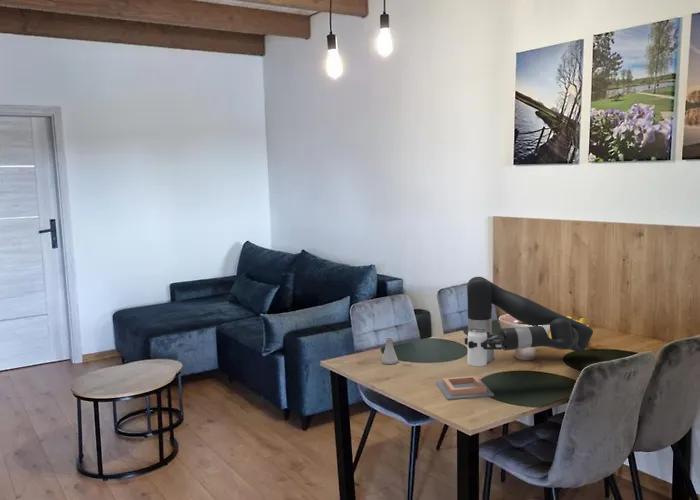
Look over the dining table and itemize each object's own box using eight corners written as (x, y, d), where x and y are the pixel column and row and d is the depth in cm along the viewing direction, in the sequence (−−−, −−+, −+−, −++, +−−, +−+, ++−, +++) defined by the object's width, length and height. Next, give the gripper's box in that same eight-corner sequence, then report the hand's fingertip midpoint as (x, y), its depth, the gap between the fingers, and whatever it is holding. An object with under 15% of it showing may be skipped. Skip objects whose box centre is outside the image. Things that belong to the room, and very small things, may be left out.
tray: (479, 380, 219) (479, 373, 219) (494, 396, 203) (493, 388, 203) (436, 383, 218) (435, 376, 217) (447, 400, 202) (447, 392, 202)
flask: (397, 365, 241) (396, 340, 240) (379, 364, 242) (378, 340, 241) (399, 359, 248) (399, 335, 247) (382, 359, 250) (381, 335, 248)
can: (465, 361, 211) (465, 327, 209) (483, 360, 211) (484, 327, 210) (470, 367, 204) (470, 332, 203) (489, 366, 205) (489, 332, 203)
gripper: (523, 355, 201) (473, 360, 200) (508, 343, 215) (461, 347, 214) (522, 333, 200) (472, 338, 199) (507, 322, 214) (460, 327, 213)
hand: (466, 343), depth 206 cm, fingers closed on can, 3 cm apart
